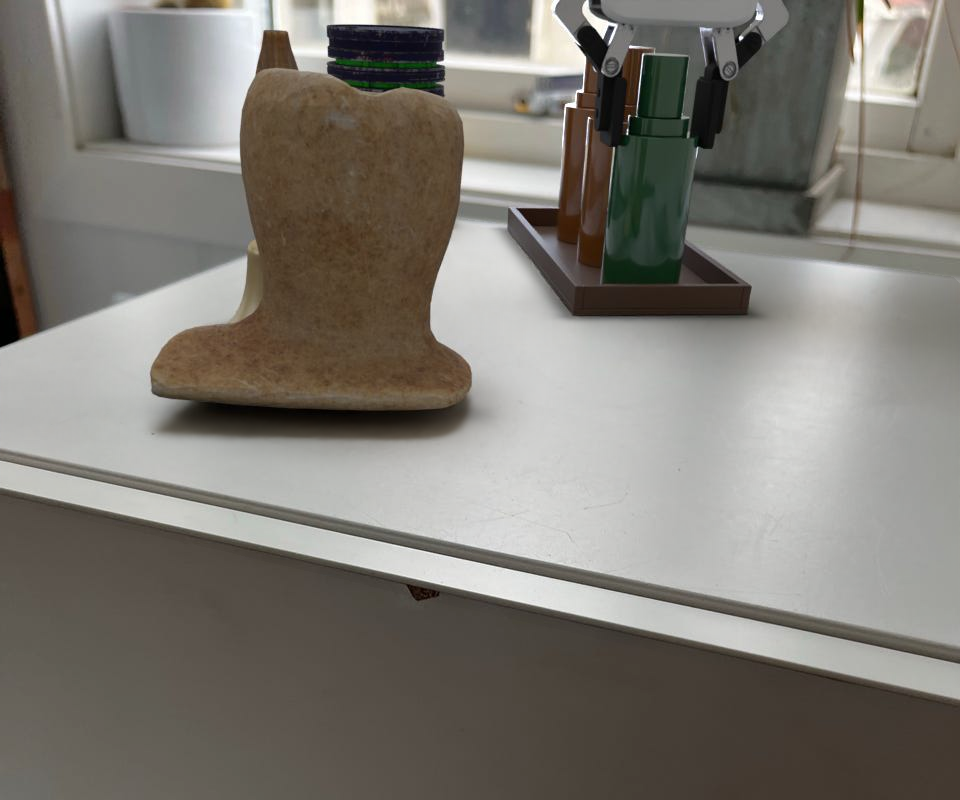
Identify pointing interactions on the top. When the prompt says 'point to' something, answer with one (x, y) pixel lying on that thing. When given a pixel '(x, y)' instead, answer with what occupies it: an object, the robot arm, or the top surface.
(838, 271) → the top surface
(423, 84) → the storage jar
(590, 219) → the amber bottle
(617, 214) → the green bottle
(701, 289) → the tray
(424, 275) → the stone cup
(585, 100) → the amber bottle
